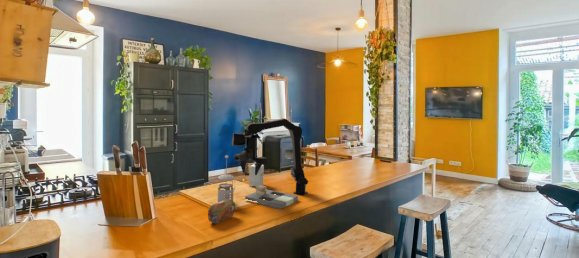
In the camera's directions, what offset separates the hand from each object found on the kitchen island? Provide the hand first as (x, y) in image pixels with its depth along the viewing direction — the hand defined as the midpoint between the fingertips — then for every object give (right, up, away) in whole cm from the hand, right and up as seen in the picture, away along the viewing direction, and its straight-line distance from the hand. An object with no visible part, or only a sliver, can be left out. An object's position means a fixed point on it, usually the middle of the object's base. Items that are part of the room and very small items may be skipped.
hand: (249, 173), depth 181 cm
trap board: (+13, -13, -6) cm, 19 cm away
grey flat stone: (-8, -16, -37) cm, 41 cm away
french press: (-10, -13, -14) cm, 22 cm away
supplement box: (+1, -11, +23) cm, 25 cm away
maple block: (+7, -10, -3) cm, 13 cm away
